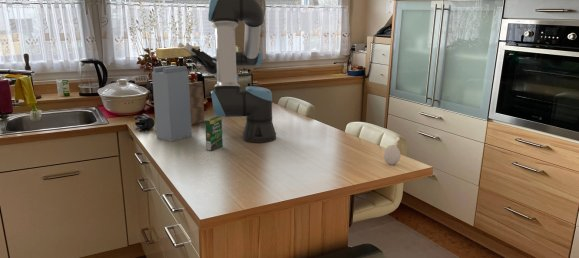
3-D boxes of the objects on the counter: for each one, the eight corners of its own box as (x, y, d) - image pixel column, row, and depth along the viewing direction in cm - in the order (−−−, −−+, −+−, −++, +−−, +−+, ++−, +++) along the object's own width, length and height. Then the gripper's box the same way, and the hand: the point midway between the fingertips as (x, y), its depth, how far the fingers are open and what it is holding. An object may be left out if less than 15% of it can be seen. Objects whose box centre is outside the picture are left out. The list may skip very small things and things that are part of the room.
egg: (387, 160, 171) (389, 141, 170) (402, 164, 168) (403, 144, 166) (380, 164, 167) (381, 145, 165) (395, 168, 163) (396, 148, 161)
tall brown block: (191, 118, 239) (189, 80, 234) (204, 121, 233) (202, 81, 228) (176, 122, 231) (174, 82, 226) (190, 125, 225) (187, 84, 220)
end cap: (155, 130, 216) (154, 116, 214) (140, 132, 212) (139, 118, 210) (149, 126, 224) (148, 112, 222) (135, 127, 220) (134, 114, 218)
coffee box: (211, 151, 182) (209, 120, 179) (205, 150, 183) (204, 119, 180) (223, 146, 189) (222, 116, 186) (217, 145, 190) (216, 115, 187)
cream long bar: (194, 54, 209) (193, 46, 208) (200, 55, 207) (199, 46, 206) (156, 58, 192) (155, 48, 191) (162, 58, 189) (161, 49, 188)
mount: (177, 132, 211) (172, 65, 203) (191, 135, 206) (188, 66, 198) (156, 137, 202) (151, 67, 194) (171, 141, 196) (166, 69, 188)
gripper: (225, 75, 213) (192, 54, 194) (200, 73, 223) (166, 52, 204) (230, 61, 215) (198, 38, 196) (205, 59, 224) (172, 37, 205)
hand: (182, 45), depth 200 cm, fingers closed on cream long bar, 4 cm apart
